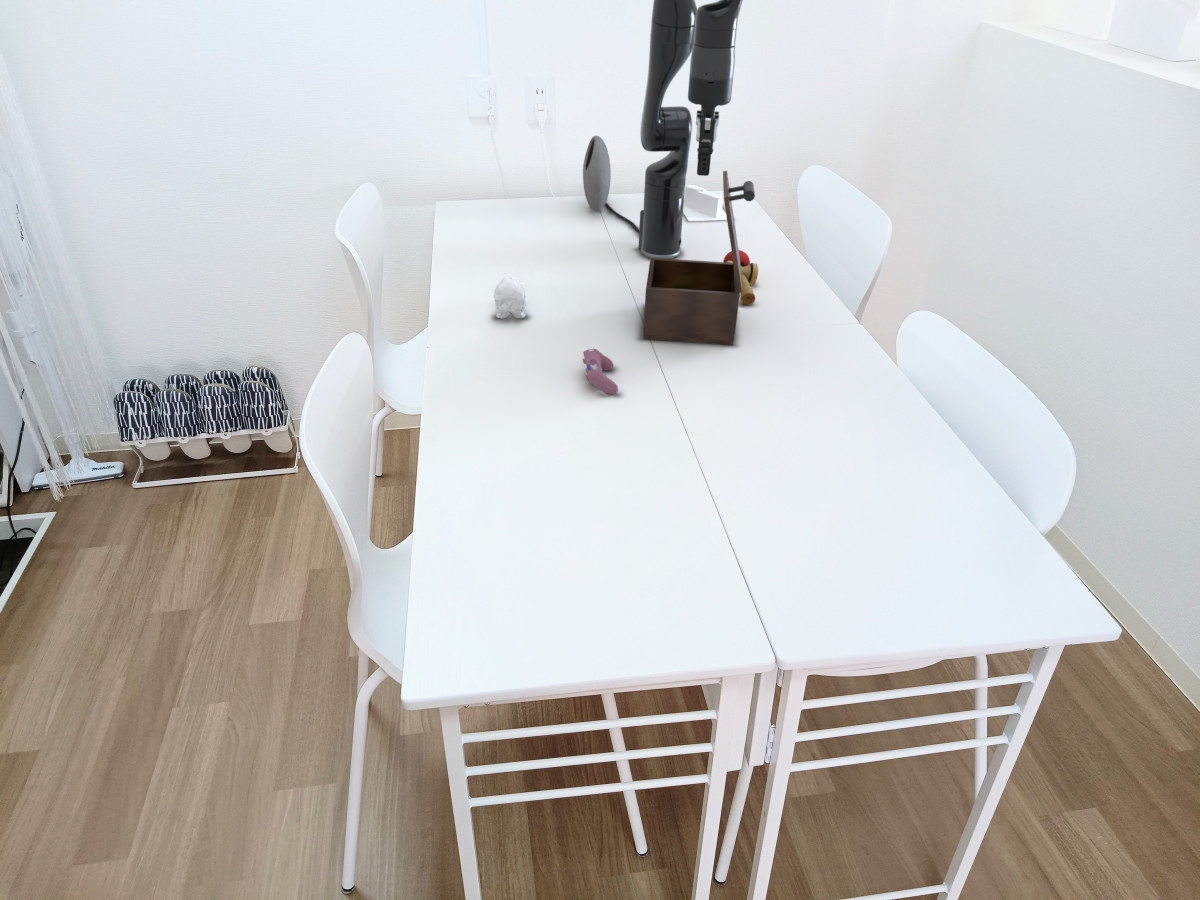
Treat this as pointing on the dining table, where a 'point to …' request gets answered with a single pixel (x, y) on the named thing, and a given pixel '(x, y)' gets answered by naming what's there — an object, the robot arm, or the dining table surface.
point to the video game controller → (599, 370)
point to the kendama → (745, 276)
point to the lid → (748, 196)
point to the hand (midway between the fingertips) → (703, 167)
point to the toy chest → (691, 301)
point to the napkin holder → (702, 205)
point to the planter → (596, 174)
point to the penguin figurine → (510, 298)
